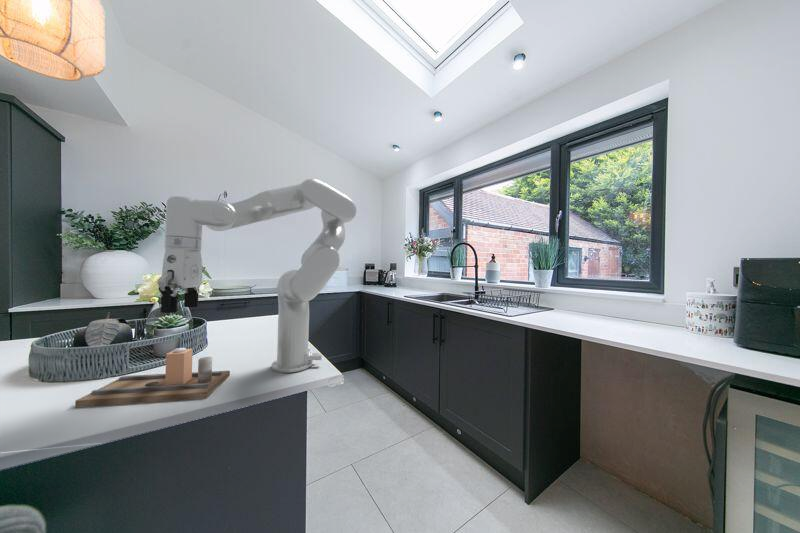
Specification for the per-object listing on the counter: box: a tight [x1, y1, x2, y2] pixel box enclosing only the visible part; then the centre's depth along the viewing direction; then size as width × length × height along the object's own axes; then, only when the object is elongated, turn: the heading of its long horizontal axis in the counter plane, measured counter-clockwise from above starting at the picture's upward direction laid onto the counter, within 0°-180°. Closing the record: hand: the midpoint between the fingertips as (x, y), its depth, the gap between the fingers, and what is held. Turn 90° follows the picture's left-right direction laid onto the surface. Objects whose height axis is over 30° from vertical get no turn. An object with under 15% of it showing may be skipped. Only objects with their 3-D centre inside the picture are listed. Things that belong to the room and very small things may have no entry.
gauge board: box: [74, 356, 231, 408], centre depth 70 cm, size 26×14×8 cm, turn 102°
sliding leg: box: [165, 347, 194, 386], centre depth 70 cm, size 4×4×9 cm
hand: (180, 309), depth 71 cm, fingers open, 9 cm apart
